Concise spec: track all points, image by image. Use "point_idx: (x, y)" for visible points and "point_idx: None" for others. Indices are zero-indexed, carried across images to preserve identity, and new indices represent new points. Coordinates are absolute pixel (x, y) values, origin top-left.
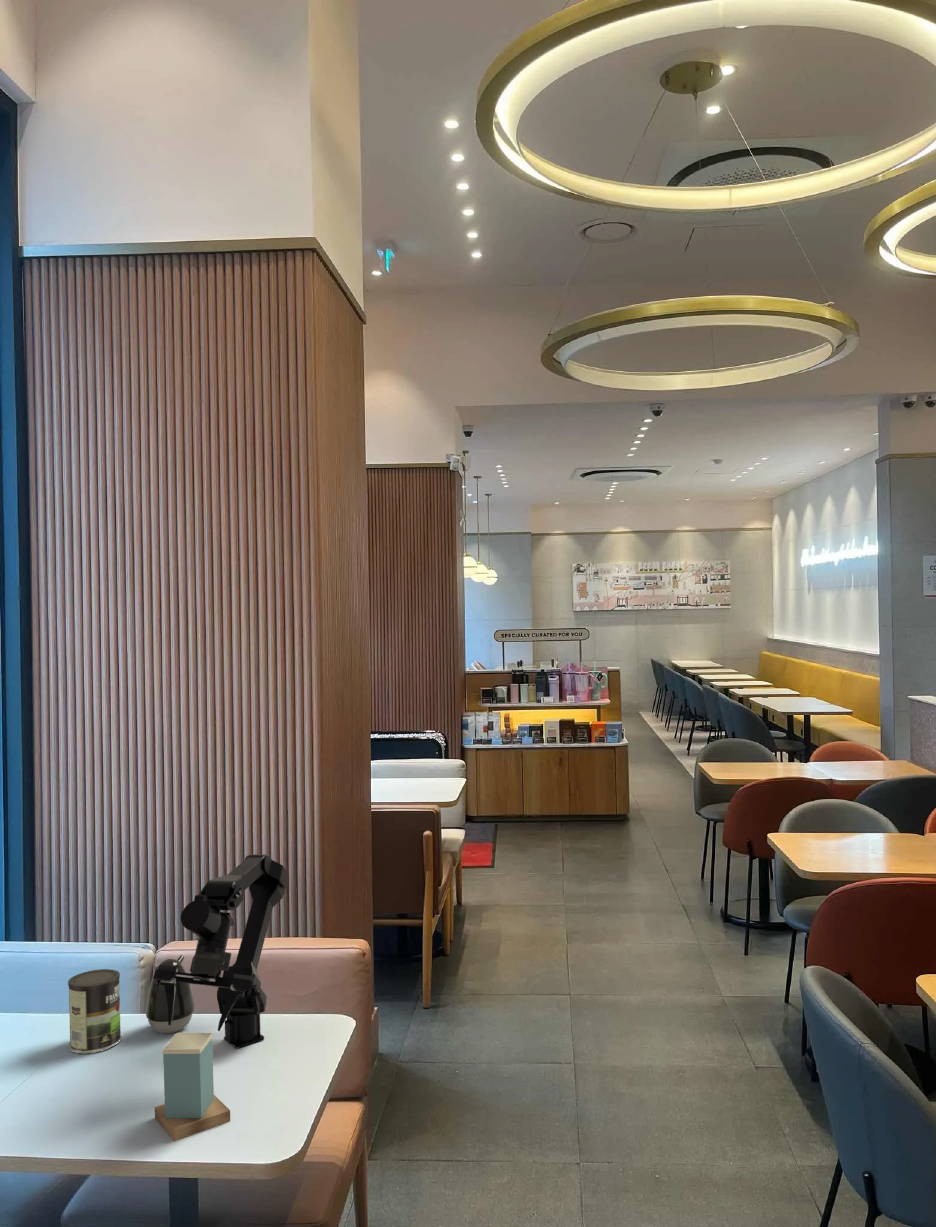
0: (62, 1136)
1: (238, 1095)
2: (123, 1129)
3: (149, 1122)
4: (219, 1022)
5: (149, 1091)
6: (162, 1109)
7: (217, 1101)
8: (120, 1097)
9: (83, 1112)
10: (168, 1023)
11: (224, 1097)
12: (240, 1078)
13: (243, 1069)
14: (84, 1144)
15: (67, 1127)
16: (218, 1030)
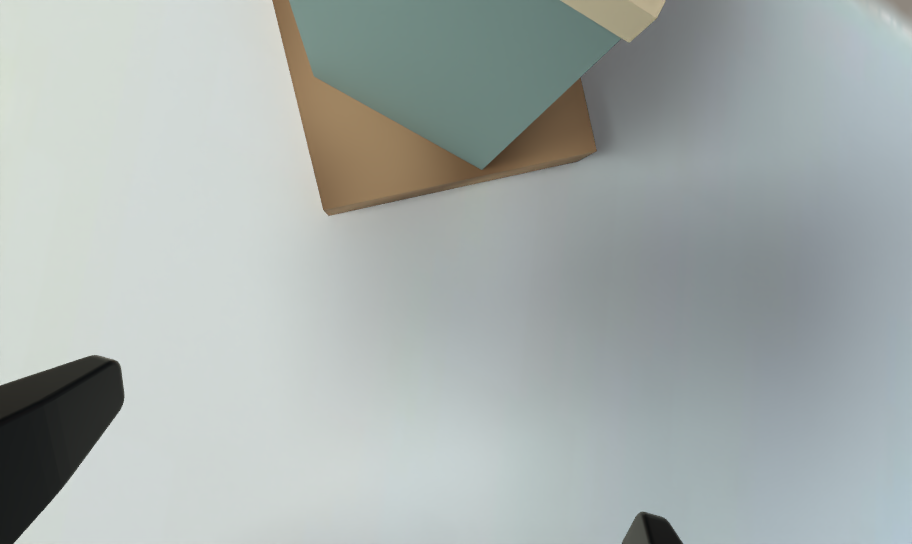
0: (908, 196)
1: (178, 190)
2: (702, 131)
3: (601, 136)
4: (44, 396)
5: (574, 437)
6: (565, 108)
7: (299, 47)
8: (694, 435)
9: (834, 364)
10: (669, 525)
11: (250, 204)
12: (132, 376)
13: (95, 478)
14: (840, 87)
15: (890, 262)
16: (111, 359)
